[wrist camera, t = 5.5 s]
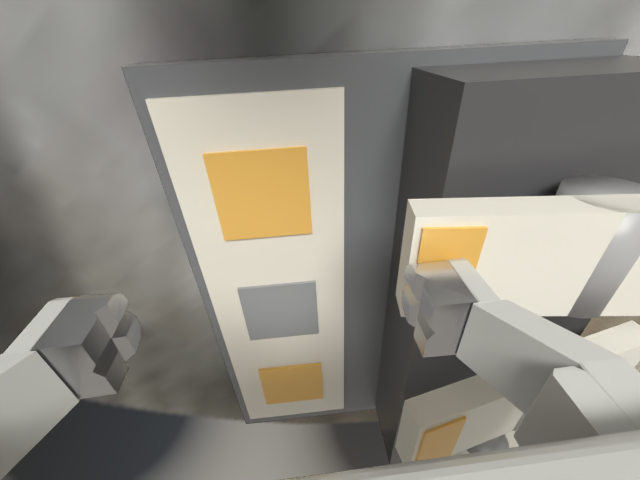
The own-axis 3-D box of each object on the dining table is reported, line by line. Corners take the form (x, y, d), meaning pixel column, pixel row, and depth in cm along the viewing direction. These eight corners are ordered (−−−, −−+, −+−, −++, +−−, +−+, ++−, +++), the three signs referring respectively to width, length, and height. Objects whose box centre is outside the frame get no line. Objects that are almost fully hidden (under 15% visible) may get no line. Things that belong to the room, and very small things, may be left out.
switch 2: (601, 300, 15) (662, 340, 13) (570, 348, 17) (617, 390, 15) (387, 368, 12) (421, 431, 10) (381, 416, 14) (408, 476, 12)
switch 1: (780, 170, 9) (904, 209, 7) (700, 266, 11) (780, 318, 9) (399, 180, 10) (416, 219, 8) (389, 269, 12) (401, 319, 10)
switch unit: (595, 38, 13) (769, 42, 8) (465, 380, 26) (503, 454, 22) (138, 63, 12) (45, 84, 7) (248, 404, 25) (239, 487, 21)
